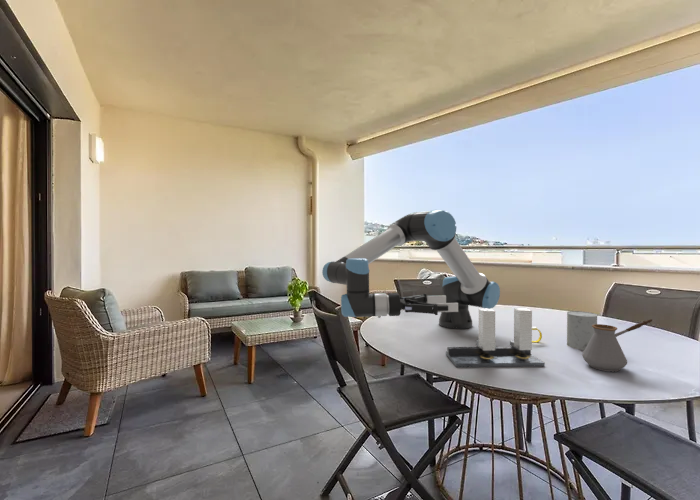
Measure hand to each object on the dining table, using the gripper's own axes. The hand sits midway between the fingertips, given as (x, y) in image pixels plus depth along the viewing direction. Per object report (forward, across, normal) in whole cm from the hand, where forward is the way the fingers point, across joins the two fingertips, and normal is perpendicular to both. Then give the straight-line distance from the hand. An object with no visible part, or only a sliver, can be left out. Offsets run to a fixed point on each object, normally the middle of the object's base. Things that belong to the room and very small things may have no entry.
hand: (451, 303), depth 116 cm
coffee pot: (+50, +7, -20) cm, 55 cm away
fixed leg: (+24, -2, -18) cm, 30 cm away
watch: (+38, -20, -20) cm, 47 cm away
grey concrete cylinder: (+52, -14, -21) cm, 58 cm away
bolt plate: (+14, 0, -20) cm, 24 cm away
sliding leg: (+12, -2, -18) cm, 21 cm away
